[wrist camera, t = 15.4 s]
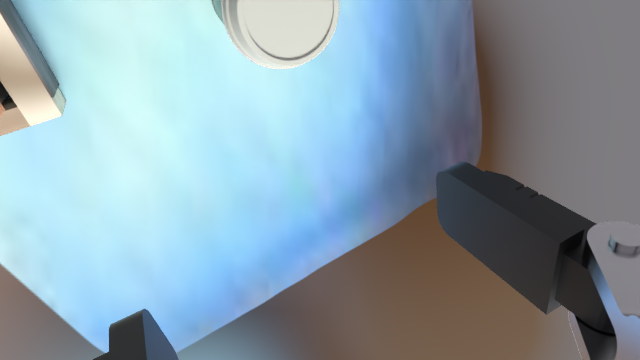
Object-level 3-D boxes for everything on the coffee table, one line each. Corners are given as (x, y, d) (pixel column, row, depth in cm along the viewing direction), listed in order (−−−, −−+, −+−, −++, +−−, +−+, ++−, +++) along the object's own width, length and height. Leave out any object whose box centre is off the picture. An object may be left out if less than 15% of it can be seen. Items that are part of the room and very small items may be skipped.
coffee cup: (303, 8, 40) (365, 24, 30) (236, 64, 39) (278, 98, 30) (250, -79, 34) (305, -94, 25) (173, -16, 34) (199, -6, 25)
